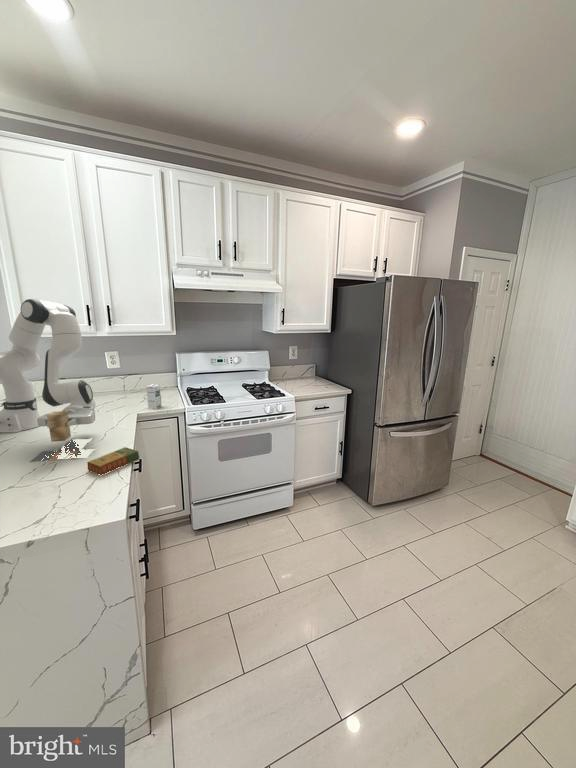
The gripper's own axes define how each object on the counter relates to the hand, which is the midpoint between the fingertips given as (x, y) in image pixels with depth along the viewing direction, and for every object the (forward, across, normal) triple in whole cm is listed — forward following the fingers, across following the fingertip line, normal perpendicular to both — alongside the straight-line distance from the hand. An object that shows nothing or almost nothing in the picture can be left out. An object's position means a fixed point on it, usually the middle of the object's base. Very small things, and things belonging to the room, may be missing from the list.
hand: (58, 425), depth 127 cm
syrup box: (-67, +23, +14) cm, 72 cm away
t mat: (-8, 0, +14) cm, 16 cm away
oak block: (-1, 0, +6) cm, 6 cm away
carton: (+11, +23, +14) cm, 29 cm away
